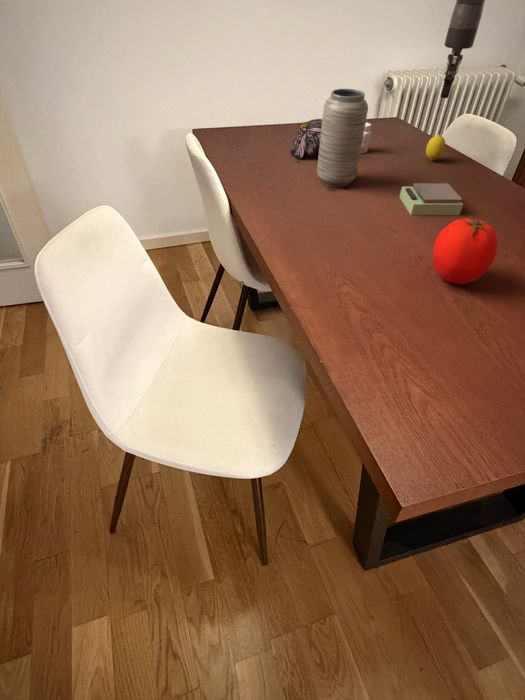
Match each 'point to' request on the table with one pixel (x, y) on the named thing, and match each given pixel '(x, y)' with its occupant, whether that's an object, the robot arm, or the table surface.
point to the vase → (341, 137)
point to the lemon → (435, 147)
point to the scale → (427, 204)
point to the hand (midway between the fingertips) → (444, 94)
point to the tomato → (464, 250)
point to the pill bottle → (366, 138)
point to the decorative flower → (307, 139)
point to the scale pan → (436, 192)
